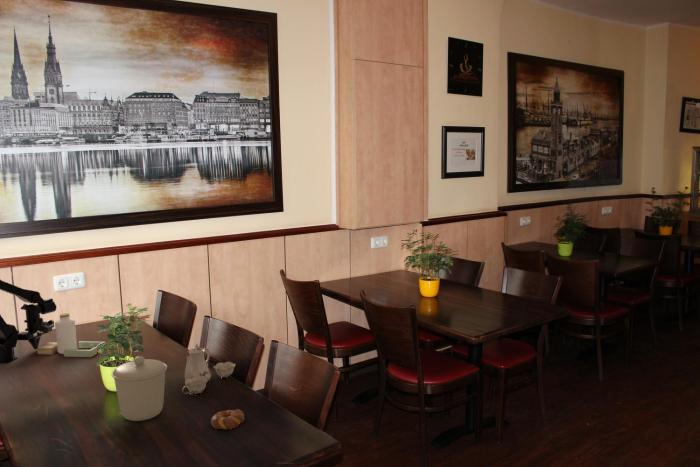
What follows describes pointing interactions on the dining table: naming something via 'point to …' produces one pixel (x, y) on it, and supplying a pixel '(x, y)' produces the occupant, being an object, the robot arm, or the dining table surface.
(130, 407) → the canister
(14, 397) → the dining table surface
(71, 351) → the tray frame
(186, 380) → the chinaware
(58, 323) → the potion bottle
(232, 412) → the braided ring pastry
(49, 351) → the oak block
